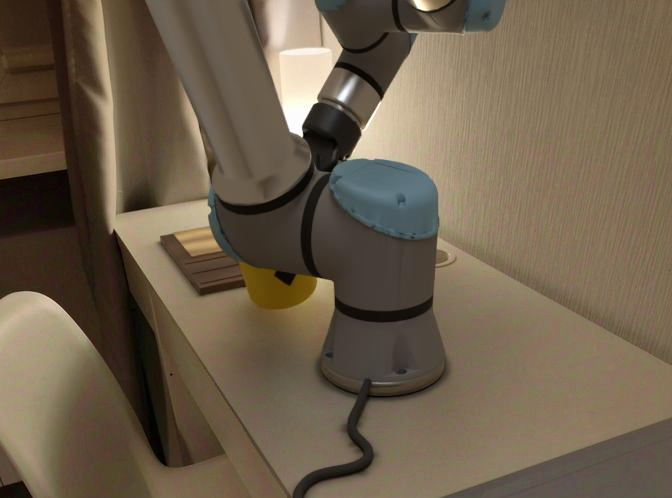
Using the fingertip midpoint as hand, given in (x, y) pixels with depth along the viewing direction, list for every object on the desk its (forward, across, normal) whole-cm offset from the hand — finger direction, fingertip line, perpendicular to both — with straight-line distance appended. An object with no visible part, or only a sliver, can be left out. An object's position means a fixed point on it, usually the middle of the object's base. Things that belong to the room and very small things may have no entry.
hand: (256, 268), depth 98 cm
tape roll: (0, +1, -6) cm, 7 cm away
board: (-1, +24, -14) cm, 27 cm away
